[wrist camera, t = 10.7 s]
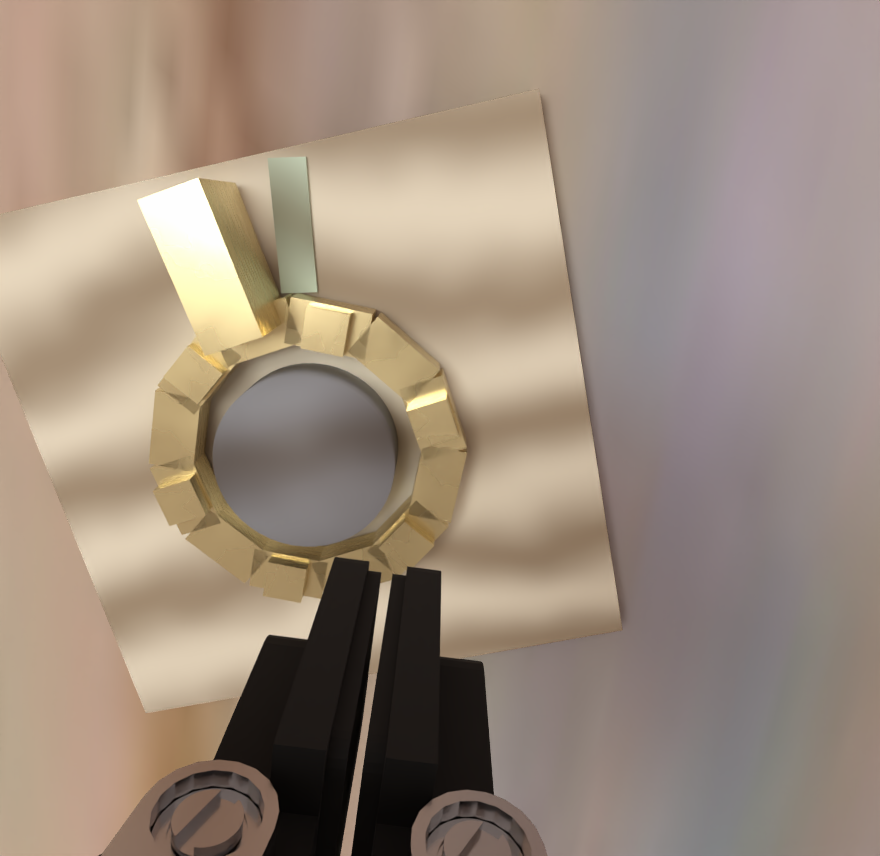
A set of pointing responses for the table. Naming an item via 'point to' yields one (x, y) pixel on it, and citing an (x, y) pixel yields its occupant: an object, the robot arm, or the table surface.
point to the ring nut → (261, 332)
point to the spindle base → (374, 252)
